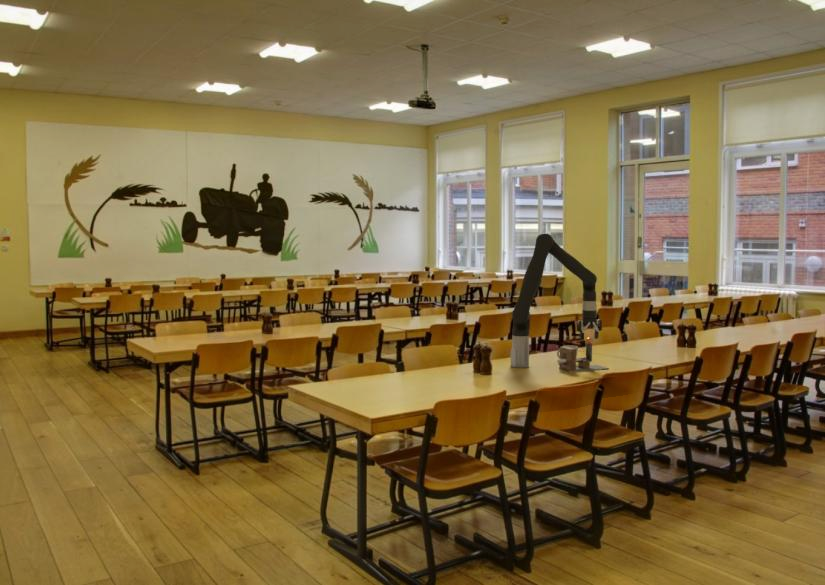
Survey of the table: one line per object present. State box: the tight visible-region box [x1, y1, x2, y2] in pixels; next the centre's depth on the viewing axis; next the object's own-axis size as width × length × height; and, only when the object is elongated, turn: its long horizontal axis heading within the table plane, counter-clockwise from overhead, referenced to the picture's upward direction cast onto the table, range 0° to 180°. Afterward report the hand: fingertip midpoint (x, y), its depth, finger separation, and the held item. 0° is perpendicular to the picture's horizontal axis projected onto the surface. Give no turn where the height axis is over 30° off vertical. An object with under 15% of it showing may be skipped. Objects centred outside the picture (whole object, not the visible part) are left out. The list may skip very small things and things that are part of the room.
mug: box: [556, 344, 579, 359], centre depth 408 cm, size 8×13×10 cm, turn 53°
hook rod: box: [557, 337, 593, 365], centre depth 389 cm, size 21×4×13 cm, turn 108°
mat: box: [558, 364, 610, 373], centre depth 391 cm, size 24×11×1 cm, turn 109°
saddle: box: [577, 360, 591, 369], centre depth 391 cm, size 4×5×5 cm
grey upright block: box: [559, 345, 577, 373], centre depth 388 cm, size 4×10×12 cm, turn 19°
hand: (589, 339), depth 391 cm, fingers open, 8 cm apart
